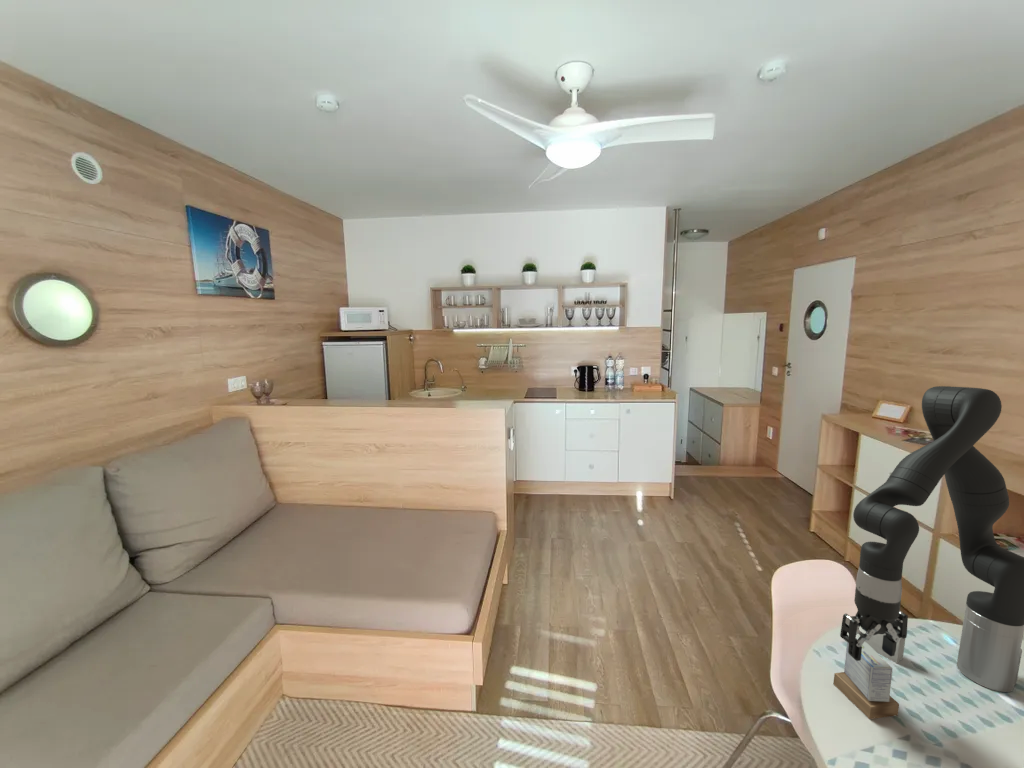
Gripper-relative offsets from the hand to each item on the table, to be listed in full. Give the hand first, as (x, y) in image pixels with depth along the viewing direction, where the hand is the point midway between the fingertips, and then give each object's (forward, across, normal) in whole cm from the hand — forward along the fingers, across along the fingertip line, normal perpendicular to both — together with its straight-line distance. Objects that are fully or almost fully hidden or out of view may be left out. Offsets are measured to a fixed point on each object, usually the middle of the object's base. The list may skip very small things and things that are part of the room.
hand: (871, 655), depth 93 cm
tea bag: (+12, -18, -12) cm, 25 cm away
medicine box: (+9, 0, 0) cm, 9 cm away
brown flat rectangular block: (+12, 0, 0) cm, 12 cm away
